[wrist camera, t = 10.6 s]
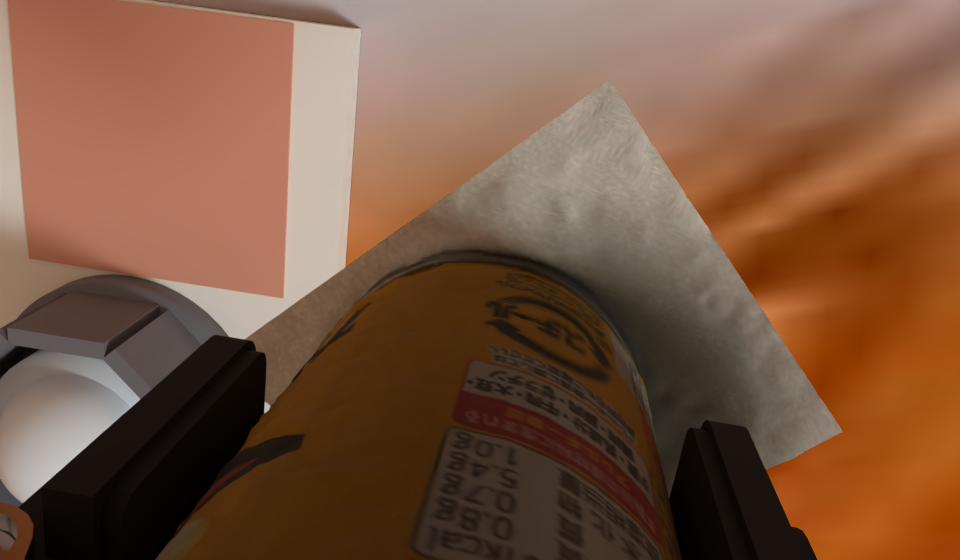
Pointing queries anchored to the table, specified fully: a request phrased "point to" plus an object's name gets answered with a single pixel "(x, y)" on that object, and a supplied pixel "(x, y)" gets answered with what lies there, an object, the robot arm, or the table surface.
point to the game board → (165, 176)
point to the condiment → (509, 372)
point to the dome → (54, 415)
